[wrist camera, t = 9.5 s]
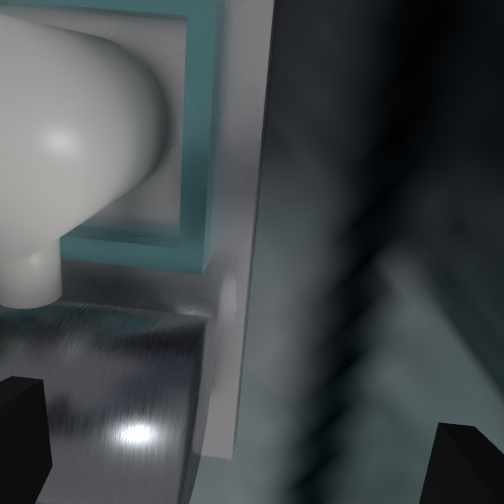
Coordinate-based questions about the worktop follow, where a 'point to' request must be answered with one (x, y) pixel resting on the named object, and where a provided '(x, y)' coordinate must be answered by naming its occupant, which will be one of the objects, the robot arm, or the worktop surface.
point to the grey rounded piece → (65, 145)
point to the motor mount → (155, 263)
